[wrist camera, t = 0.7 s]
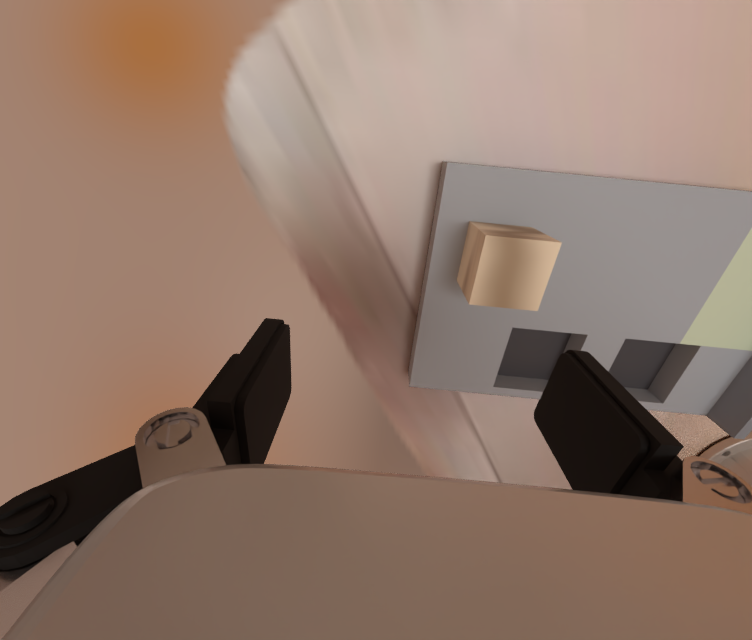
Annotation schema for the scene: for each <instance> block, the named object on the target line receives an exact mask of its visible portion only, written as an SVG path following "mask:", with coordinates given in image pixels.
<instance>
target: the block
mask: <svg viewBox="0 0 752 640" xmlns="http://www.w3.org/2000/svg"><path fill="white" fill-rule="evenodd" d="M561 244H562V242H560V241H558V240H556V239H554V238H552V237H550V236H548V235H546V234H544V233H542V232H540V231H538V230H537V229H535V228H533V227H524V226H514V225H504V224H493V223H483V222H473V221H469V225H468V230H467V235H466V239H465V244H464V249H463V253H462V258H461V263H460V267H459V272H458V276H457V282H458V284H459V286H460V288H461V290H462V292H463V294H464V296H465V298H466V300H467V302H468V304H469V305H479V306H489V307H500V308H510V309H520V310H530V311H538V309H539V306H540V303H541V300H542V297H543V295H544V292H545V289H546V286H547V283H548V281H549V278H550V275H551V272H552V269H553V267H554V264H555V261H556V258H557V255H558V253H559V250H560V247H561Z"/></svg>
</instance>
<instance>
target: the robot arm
mask: <svg viewBox="0 0 752 640" xmlns="http://www.w3.org/2000/svg"><path fill="white" fill-rule="evenodd" d="M290 360H291V359H290V328H289V325H286V324H284V321H283V320H279V319H268V318H266V319H264V321H263V322H262V324H261V325H260V326H259V328H258V329H257V331H256V332H255V333H254V335H253V336H252V338H251V339H250V340H249V342H248V343H247V345H246V346H245V347H244V349H243V350H242V351H241V353H240V354H233V355H232V356H231V357H230V359H229V360H228V361H227V363H226V364H225V365H224V367H223V368H222V369H221V370H220V372H219V373H218V374H217V376H216V377H215V379H214V380H213V381H212V382H211V384H210V385H209V387H208V388H207V389H206V390H205V392H204V393H203V395H202V396H201V397H200V399H199V400H198V401H197V402H196V404H195V405H194V406H193V408H188V407H186V408H175V409H171V410H167V411H165V412H162V413H160V414H157V415H156V416H154V417H152V418H151V419H150V420H148V421H147V422H146V423H145V424H144V425H143V426H142V427H141V428H140V429H139V431H138V432H137V434H136V436H135V445H134V446H131V447H129V448H127V449H124V450H122V451H120V452H117V453H115V454H113V455H110V456H108V457H106V458H103V459H101V460H98V461H96V462H94V463H91V464H89V465H86V466H84V467H82V468H79V469H78V470H75V471H73V472H70V473H68V474H65V475H63V476H61V477H58V478H56V479H53V480H51V481H49V482H46V483H44V484H42V485H39V486H37V487H34V488H32V489H30V490H28V491H26V492H24V493H22V494H20V495H18V496H16V497H14V498H12V499H11V500H10V501H8V502H7V503H5V504H4V505H2V506H1V507H0V640H752V431H751V432H750V433H749V434H748V436H747V437H746V438H745V439H735V438H733V437H730V438H727V439H725V440H722V441H721V442H719V443H717V444H715V445H713V446H712V447H710V448H709V449H707V450H706V451H704V452H703V453H702V454H701V455H700V456H699V457H698V456H689V457H686V458H684V459H683V461H681V460H680V458H679V457H678V456H677V454H678V453H679V452H680V451H681V449H682V448H683V447H684V446H683V445H682V444H681V443H680V442H679V441H678V440H677V439H676V438H675V437H674V436H673V435H672V434H670V433H669V432H668V431H667V430H666V429H665V428H664V427H663V426H662V425H661V424H660V423H659V422H658V421H657V420H656V419H655V418H654V417H653V416H652V415H651V414H650V413H649V412H648V411H647V410H646V409H645V408H644V407H643V406H642V405H641V404H640V403H639V402H638V401H637V400H636V399H635V398H634V397H633V396H632V395H631V394H630V393H629V392H628V391H627V390H626V389H625V388H624V387H623V386H622V385H621V384H620V383H619V382H618V381H617V380H616V379H615V378H614V377H613V376H612V375H611V374H610V373H609V372H608V371H607V370H606V369H605V368H604V367H603V366H602V365H601V364H600V363H599V362H598V361H597V360H596V359H595V358H594V357H593V356H592V355H591V354H590V353H589V352H587V351H578V350H567V351H566V352H565V353H562V354H561V355H560V356H559V358H558V360H557V363H556V365H555V367H554V369H553V371H552V374H551V376H550V378H549V380H548V382H547V385H546V387H545V389H544V391H543V393H542V396H541V398H540V400H539V402H538V404H537V407H536V409H535V411H534V419H535V422H536V424H537V426H538V427H539V429H540V431H541V433H542V435H543V436H544V438H545V440H546V442H547V444H548V446H549V447H550V449H551V451H552V453H553V455H554V456H555V458H556V460H557V462H558V464H559V465H560V467H561V469H562V471H563V473H564V475H565V476H566V478H567V480H568V482H569V484H570V485H571V487H572V489H573V490H568V489H558V488H548V487H538V486H527V485H517V484H506V483H495V482H484V481H474V480H463V479H452V478H441V477H430V476H418V475H406V474H395V473H383V472H371V471H361V470H349V469H336V468H323V467H309V466H294V465H274V464H264V461H265V459H266V457H267V454H268V451H269V449H270V446H271V443H272V441H273V439H274V436H275V433H276V431H277V428H278V426H279V423H280V421H281V418H282V415H283V413H284V410H285V408H286V405H287V402H288V400H289V397H290V394H291V361H290Z"/></svg>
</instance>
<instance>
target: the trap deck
mask: <svg viewBox="0 0 752 640" xmlns="http://www.w3.org/2000/svg"><path fill="white" fill-rule="evenodd" d="M469 221H473V222H483V223H493V224H504V225H514V226H524V227H533V228H535V229H537V230H538V231H540V232H542V233H544V234H546V235H548V236H550V237H552V238H554V239H556V240H558V241H560V242H562V244H561V247H560V250H559V253H558V255H557V258H556V261H555V264H554V267H553V269H552V272H551V275H550V278H549V281H548V283H547V286H546V289H545V292H544V295H543V297H542V300H541V303H540V306H539V309H538V311H530V310H520V309H510V308H500V307H489V306H479V305H469V304H468V302H467V300H466V298H465V296H464V294H463V292H462V290H461V288H460V286H459V284H458V282H457V276H458V272H459V267H460V263H461V258H462V253H463V249H464V244H465V239H466V235H467V230H468V225H469ZM567 350H578V351H587V352H589V353H590V354H591V355H592V356H593V357H594V358H595V359H596V360H597V361H598V362H599V363H600V364H601V365H602V366H603V367H604V368H605V369H606V370H607V371H608V372H609V373H610V374H611V375H612V376H613V377H614V378H615V379H616V380H617V381H618V382H619V383H620V384H621V385H622V386H623V387H624V388H625V389H626V390H627V391H628V392H629V393H630V394H631V395H632V396H633V397H634V398H635V399H636V400H637V401H638V402H639V403H640V404H641V405H642V406H643V407H644V408H645V409H646V410H654V411H664V412H675V413H685V414H695V415H705V416H707V417H708V418H710V419H711V420H712V421H713V422H715V423H716V424H717V425H718V426H719V427H721V428H722V429H723V430H724V431H725V432H727V433H728V434H729V435H730V436H731V437H733V438H735V439H745V438H746V437H747V436H748V434H749V433H750V432H751V431H752V191H742V190H732V189H722V188H711V187H701V186H691V185H680V184H670V183H660V182H649V181H639V180H629V179H618V178H608V177H598V176H588V175H577V174H567V173H557V172H546V171H536V170H526V169H515V168H505V167H495V166H484V165H474V164H464V163H453V162H443V163H442V169H441V175H440V182H439V188H438V194H437V200H436V206H435V212H434V218H433V224H432V230H431V236H430V242H429V249H428V255H427V261H426V267H425V273H424V279H423V285H422V291H421V297H420V303H419V310H418V316H417V322H416V328H415V334H414V340H413V346H412V352H411V358H410V364H409V370H408V376H409V387H419V388H429V389H439V390H449V391H460V392H470V393H480V394H490V395H500V396H511V397H521V398H531V399H540V398H541V396H542V393H543V391H544V389H545V387H546V385H547V382H548V380H549V378H550V376H551V374H552V371H553V369H554V367H555V365H556V363H557V360H558V358H559V356H560V355H561V354H562V353H565V352H566V351H567Z"/></svg>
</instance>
